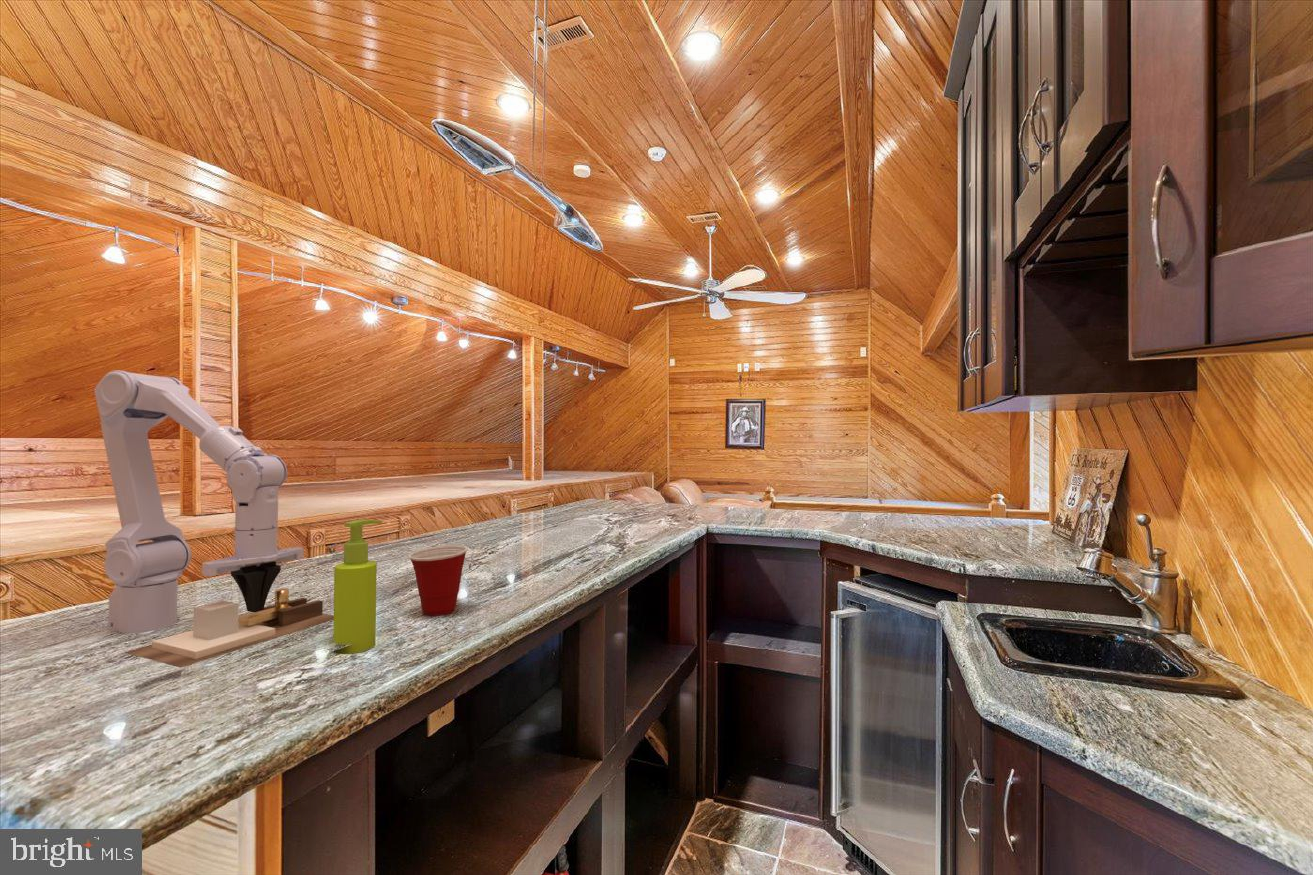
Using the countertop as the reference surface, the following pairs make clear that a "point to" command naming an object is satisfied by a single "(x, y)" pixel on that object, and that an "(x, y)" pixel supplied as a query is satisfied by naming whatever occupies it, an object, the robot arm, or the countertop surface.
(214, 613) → the cover
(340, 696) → the countertop surface
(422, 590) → the plastic cup
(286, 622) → the box base
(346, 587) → the soap dispenser
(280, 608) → the brass bolt
